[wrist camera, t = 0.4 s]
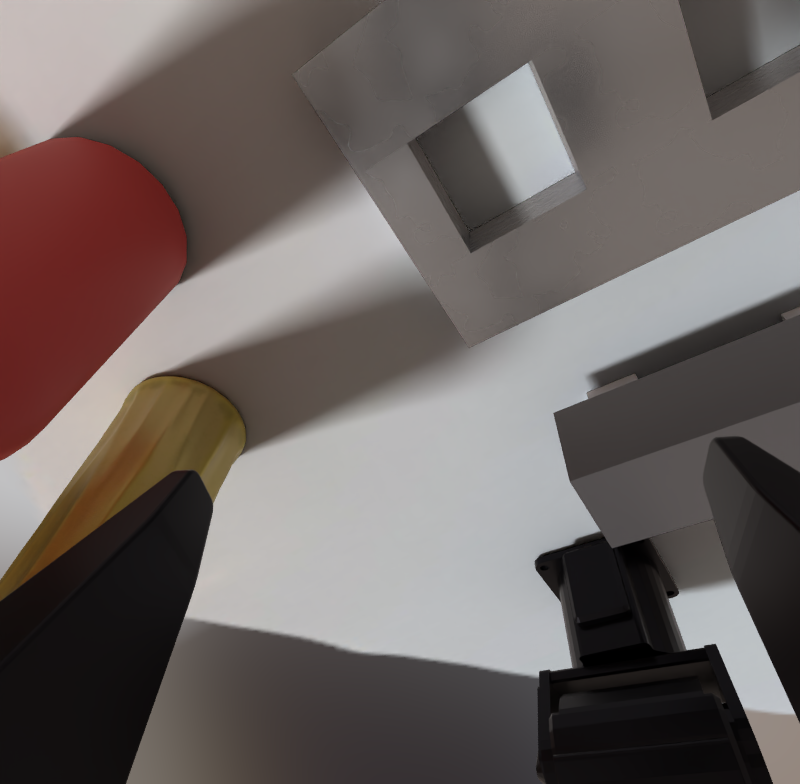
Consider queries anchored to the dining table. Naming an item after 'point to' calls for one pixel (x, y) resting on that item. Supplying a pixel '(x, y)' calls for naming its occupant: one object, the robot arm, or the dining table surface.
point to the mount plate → (579, 130)
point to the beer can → (75, 271)
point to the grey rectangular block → (680, 431)
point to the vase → (137, 464)
